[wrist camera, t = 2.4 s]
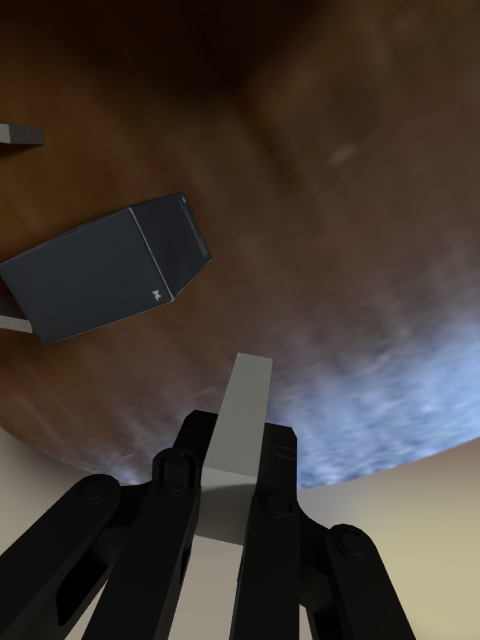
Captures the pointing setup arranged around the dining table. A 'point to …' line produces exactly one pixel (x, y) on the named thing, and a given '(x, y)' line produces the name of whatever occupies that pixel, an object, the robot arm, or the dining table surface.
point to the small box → (108, 268)
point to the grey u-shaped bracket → (5, 307)
